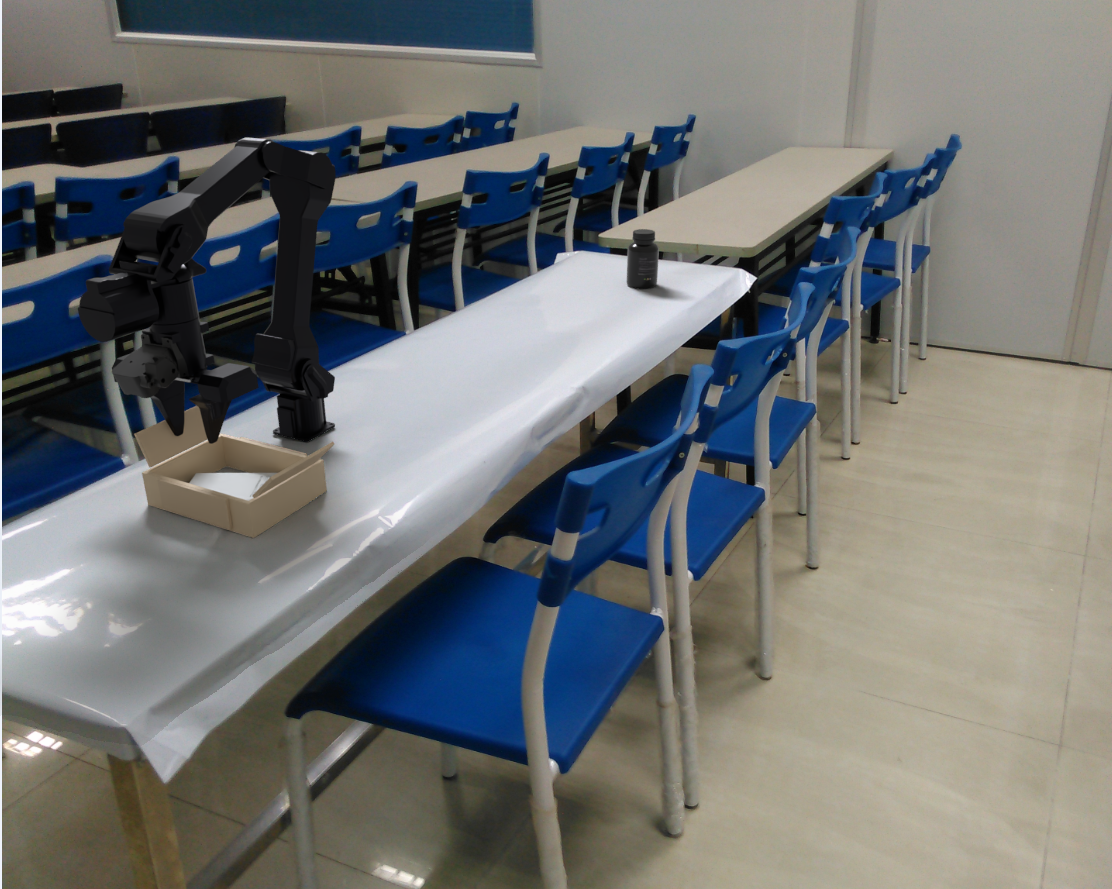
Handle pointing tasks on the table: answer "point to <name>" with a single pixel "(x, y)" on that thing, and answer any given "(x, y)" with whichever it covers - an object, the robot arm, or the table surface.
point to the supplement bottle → (642, 260)
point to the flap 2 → (292, 470)
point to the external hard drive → (232, 483)
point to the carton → (245, 517)
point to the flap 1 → (171, 438)
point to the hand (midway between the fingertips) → (196, 438)
